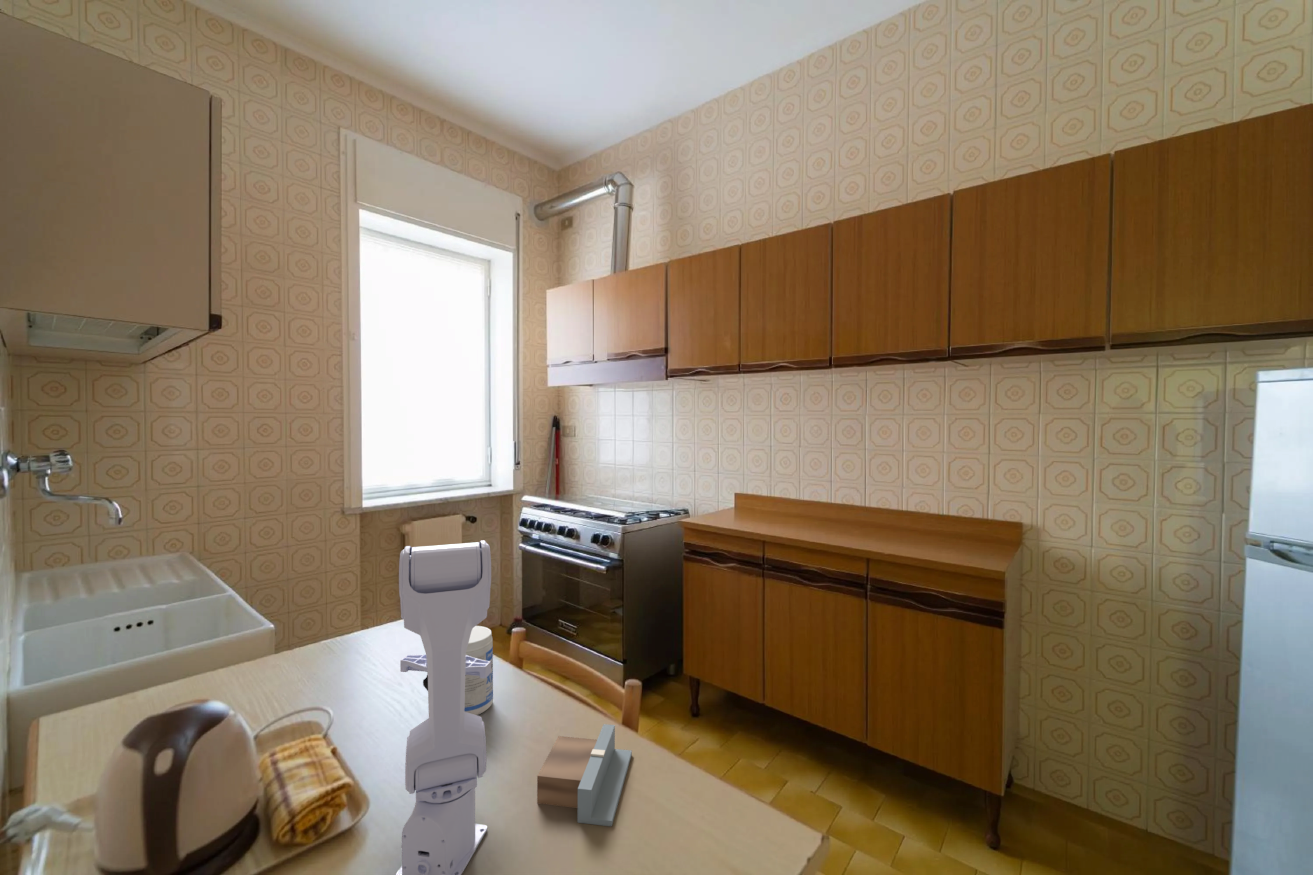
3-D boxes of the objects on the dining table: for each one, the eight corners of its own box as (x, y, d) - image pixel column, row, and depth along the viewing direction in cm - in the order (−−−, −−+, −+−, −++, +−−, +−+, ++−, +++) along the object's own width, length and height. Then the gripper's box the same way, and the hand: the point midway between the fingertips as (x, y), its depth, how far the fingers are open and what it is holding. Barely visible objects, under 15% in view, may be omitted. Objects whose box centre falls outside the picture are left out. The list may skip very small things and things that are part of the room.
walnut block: (582, 809, 78) (582, 780, 78) (537, 804, 79) (537, 775, 79) (598, 765, 88) (598, 739, 88) (558, 761, 89) (558, 735, 89)
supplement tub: (499, 711, 104) (499, 637, 103) (448, 726, 99) (448, 648, 98) (485, 689, 112) (485, 621, 111) (437, 702, 107) (437, 630, 106)
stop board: (611, 826, 75) (611, 789, 75) (577, 822, 76) (577, 786, 75) (631, 754, 91) (632, 724, 90) (603, 752, 91) (603, 722, 91)
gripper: (499, 626, 88) (499, 706, 88) (417, 621, 90) (418, 699, 90) (479, 644, 81) (479, 731, 81) (391, 638, 83) (392, 723, 83)
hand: (445, 716), depth 85 cm, fingers closed
